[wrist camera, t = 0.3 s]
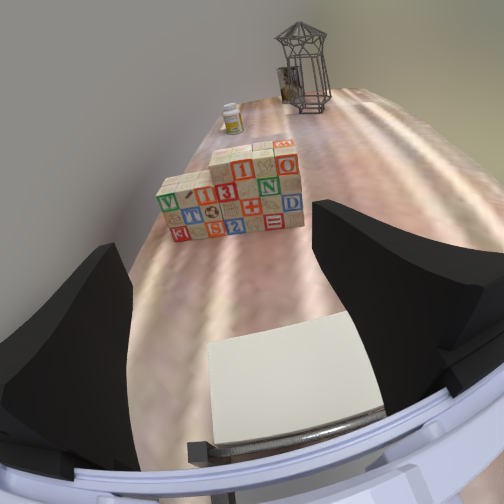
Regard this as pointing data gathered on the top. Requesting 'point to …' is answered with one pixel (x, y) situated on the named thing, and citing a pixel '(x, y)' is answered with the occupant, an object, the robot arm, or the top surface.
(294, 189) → the stack of blocks
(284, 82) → the coffee box
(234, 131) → the supplement bottle
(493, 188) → the top surface
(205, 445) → the frame
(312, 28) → the geometric lantern
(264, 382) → the trapdoor
